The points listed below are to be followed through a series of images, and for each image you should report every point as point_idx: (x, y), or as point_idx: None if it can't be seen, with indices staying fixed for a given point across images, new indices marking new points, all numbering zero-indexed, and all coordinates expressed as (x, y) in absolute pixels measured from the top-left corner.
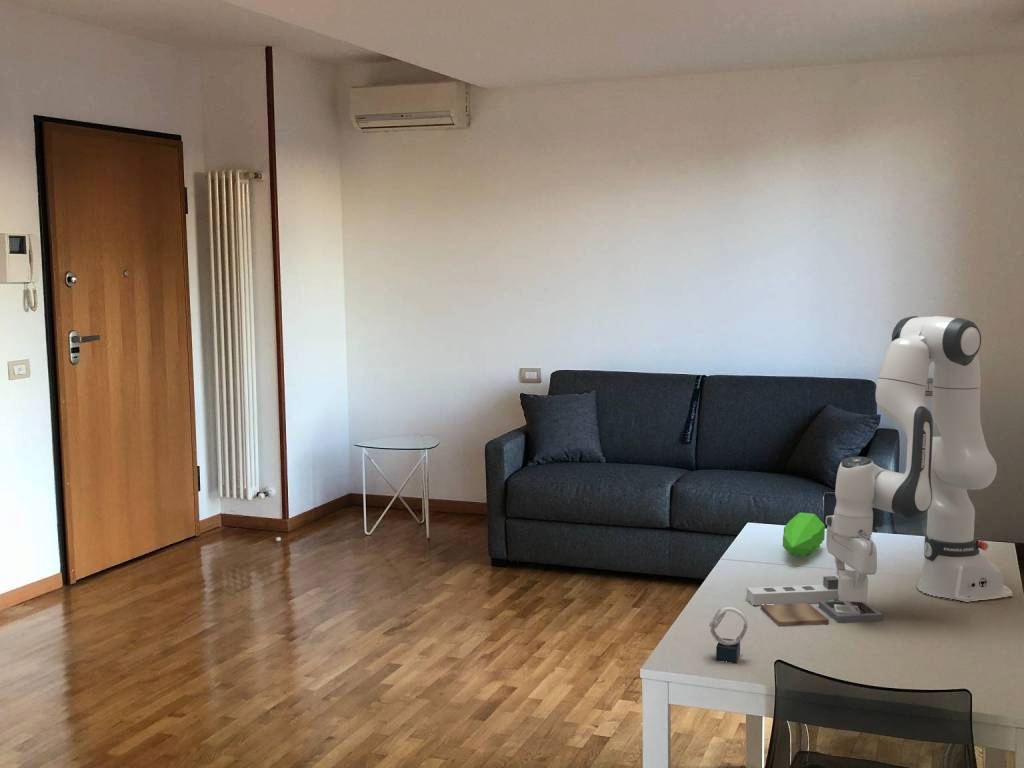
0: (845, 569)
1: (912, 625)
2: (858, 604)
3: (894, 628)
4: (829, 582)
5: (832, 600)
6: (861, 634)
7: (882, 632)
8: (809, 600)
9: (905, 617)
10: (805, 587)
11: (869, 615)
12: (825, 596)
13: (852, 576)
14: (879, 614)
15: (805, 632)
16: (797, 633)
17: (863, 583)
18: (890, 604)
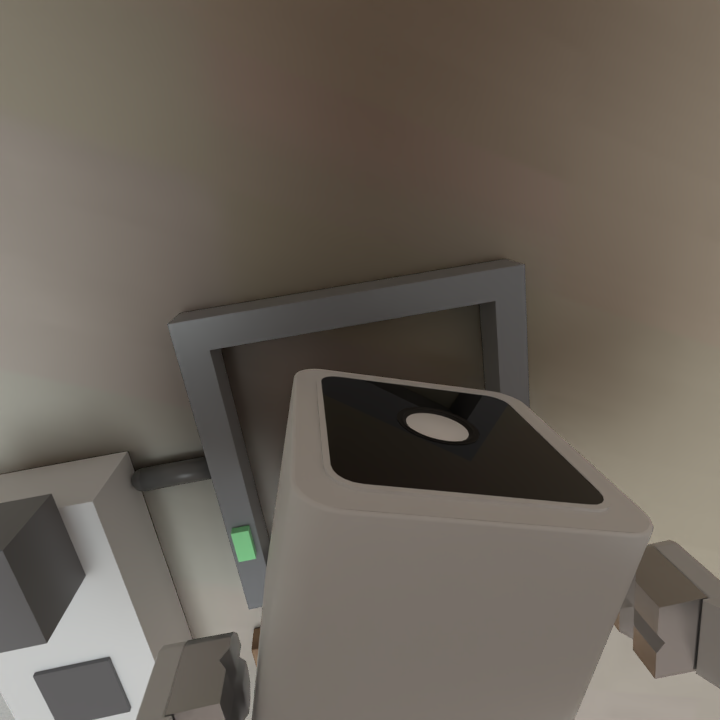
0: (198, 710)
1: (618, 61)
2: (218, 351)
3: (650, 224)
4: (54, 615)
5: (248, 541)
6: (701, 444)
7: (698, 323)
8: (179, 631)
9: (446, 46)
10: (77, 708)
11: (525, 360)
12: (144, 564)
13: (571, 695)
14: (523, 288)
15: (625, 672)
16: (631, 700)
17: (714, 577)
18: (115, 53)
